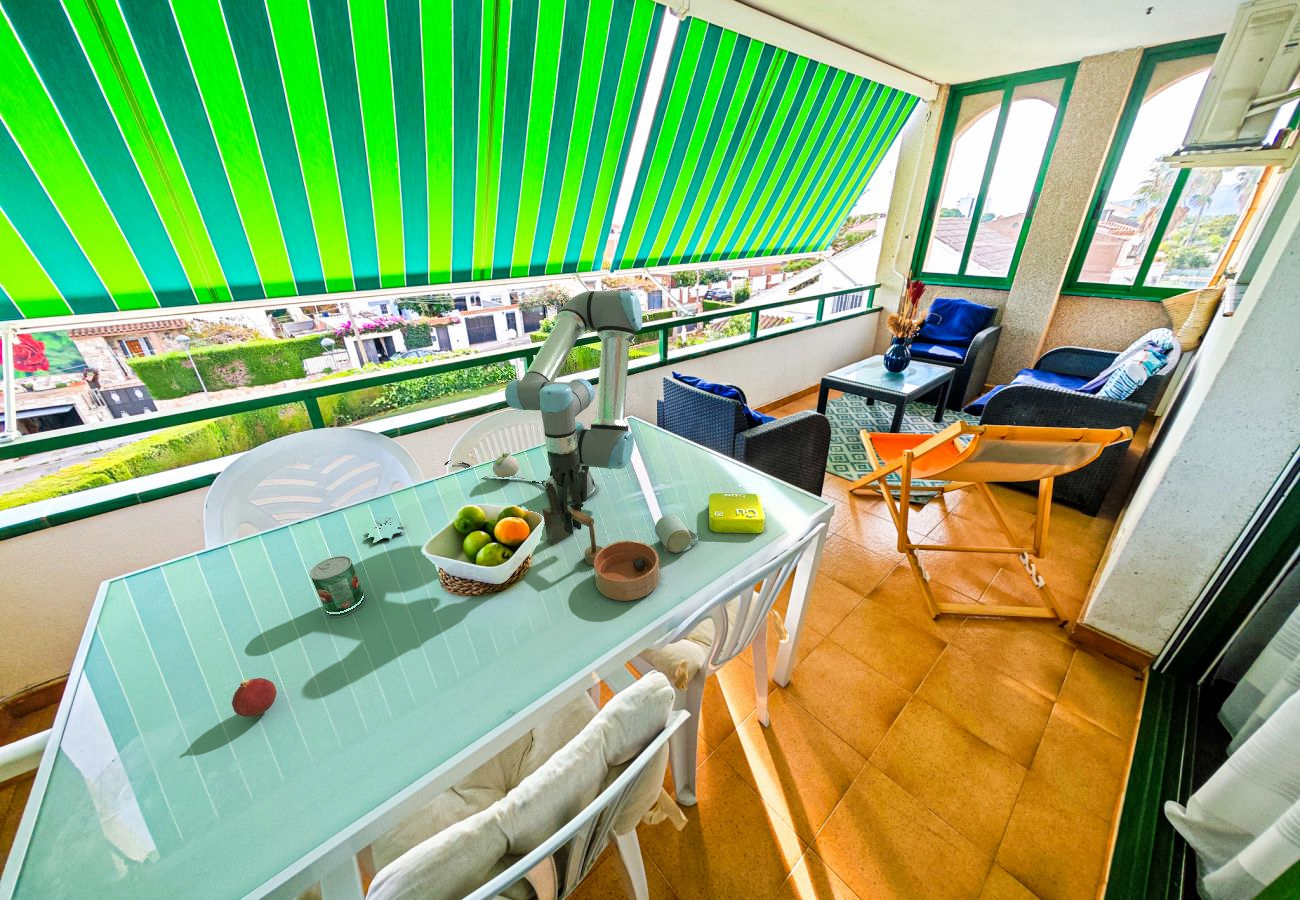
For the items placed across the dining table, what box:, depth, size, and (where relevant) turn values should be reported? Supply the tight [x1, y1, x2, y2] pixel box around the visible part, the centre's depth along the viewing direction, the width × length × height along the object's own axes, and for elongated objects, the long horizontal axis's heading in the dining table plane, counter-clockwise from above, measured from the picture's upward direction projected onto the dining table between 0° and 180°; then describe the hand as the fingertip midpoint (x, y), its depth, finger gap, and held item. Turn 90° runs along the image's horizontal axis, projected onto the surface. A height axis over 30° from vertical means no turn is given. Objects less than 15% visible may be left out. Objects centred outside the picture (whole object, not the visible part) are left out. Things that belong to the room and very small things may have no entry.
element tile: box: [708, 492, 766, 534], centre depth 132 cm, size 15×15×5 cm
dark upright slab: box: [542, 504, 572, 546], centre depth 125 cm, size 3×6×10 cm, turn 137°
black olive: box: [633, 558, 645, 571], centre depth 112 cm, size 3×3×3 cm
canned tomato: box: [309, 555, 366, 619], centre depth 104 cm, size 8×8×11 cm
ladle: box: [548, 501, 604, 566], centre depth 120 cm, size 18×5×12 cm, turn 47°
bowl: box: [593, 540, 660, 602], centre depth 109 cm, size 15×15×6 cm
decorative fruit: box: [492, 452, 520, 478], centre depth 159 cm, size 9×8×10 cm
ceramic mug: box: [654, 513, 699, 554], centre depth 121 cm, size 11×8×8 cm
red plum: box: [231, 677, 278, 718], centre depth 80 cm, size 6×6×8 cm
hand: (573, 529), depth 121 cm, fingers closed on ladle, 2 cm apart
